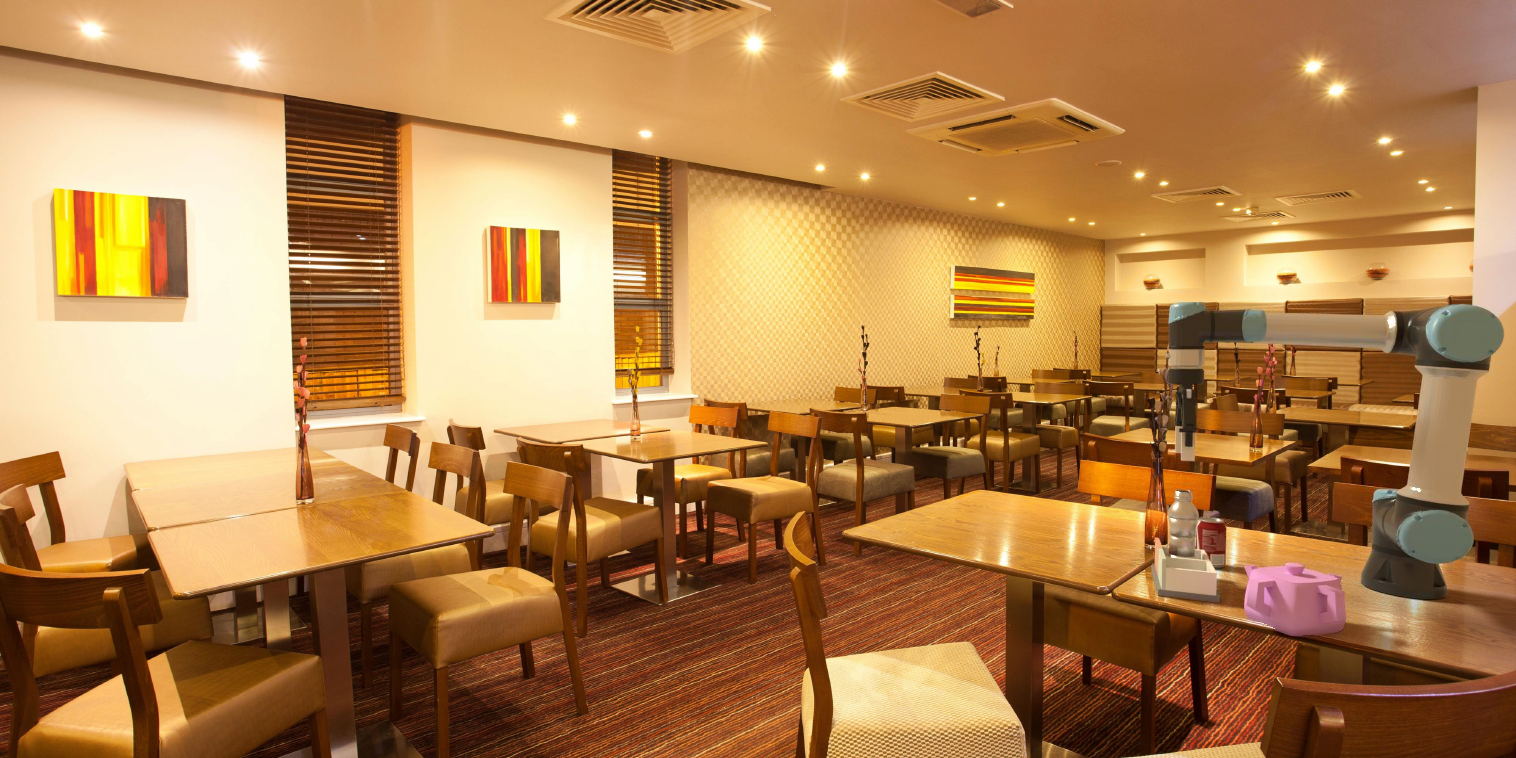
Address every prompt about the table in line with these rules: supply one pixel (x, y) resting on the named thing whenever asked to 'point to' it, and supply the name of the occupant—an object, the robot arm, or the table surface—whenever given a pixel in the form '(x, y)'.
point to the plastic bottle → (1182, 526)
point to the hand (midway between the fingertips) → (1184, 456)
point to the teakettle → (1295, 599)
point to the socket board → (1184, 576)
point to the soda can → (1212, 540)
